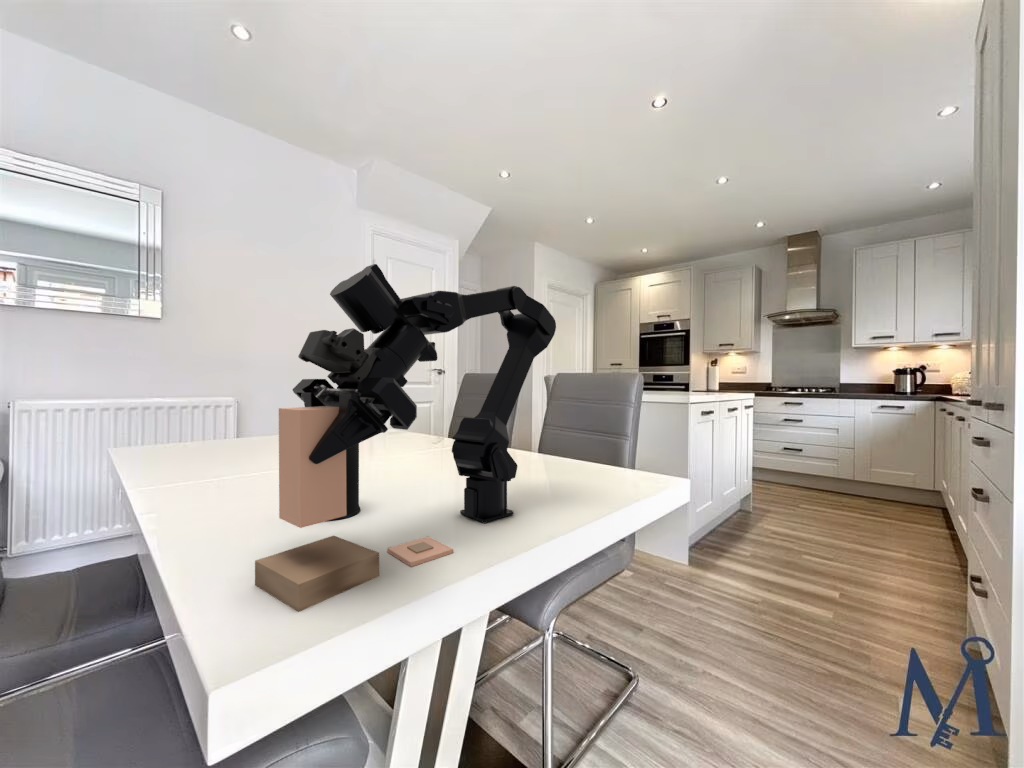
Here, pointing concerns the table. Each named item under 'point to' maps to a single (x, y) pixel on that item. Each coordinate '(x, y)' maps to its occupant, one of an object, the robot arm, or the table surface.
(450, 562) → the table surface
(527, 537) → the table surface
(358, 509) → the aerosol can
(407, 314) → the robot arm
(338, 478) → the terracotta block
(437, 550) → the tile
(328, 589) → the walnut slab
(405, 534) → the table surface
